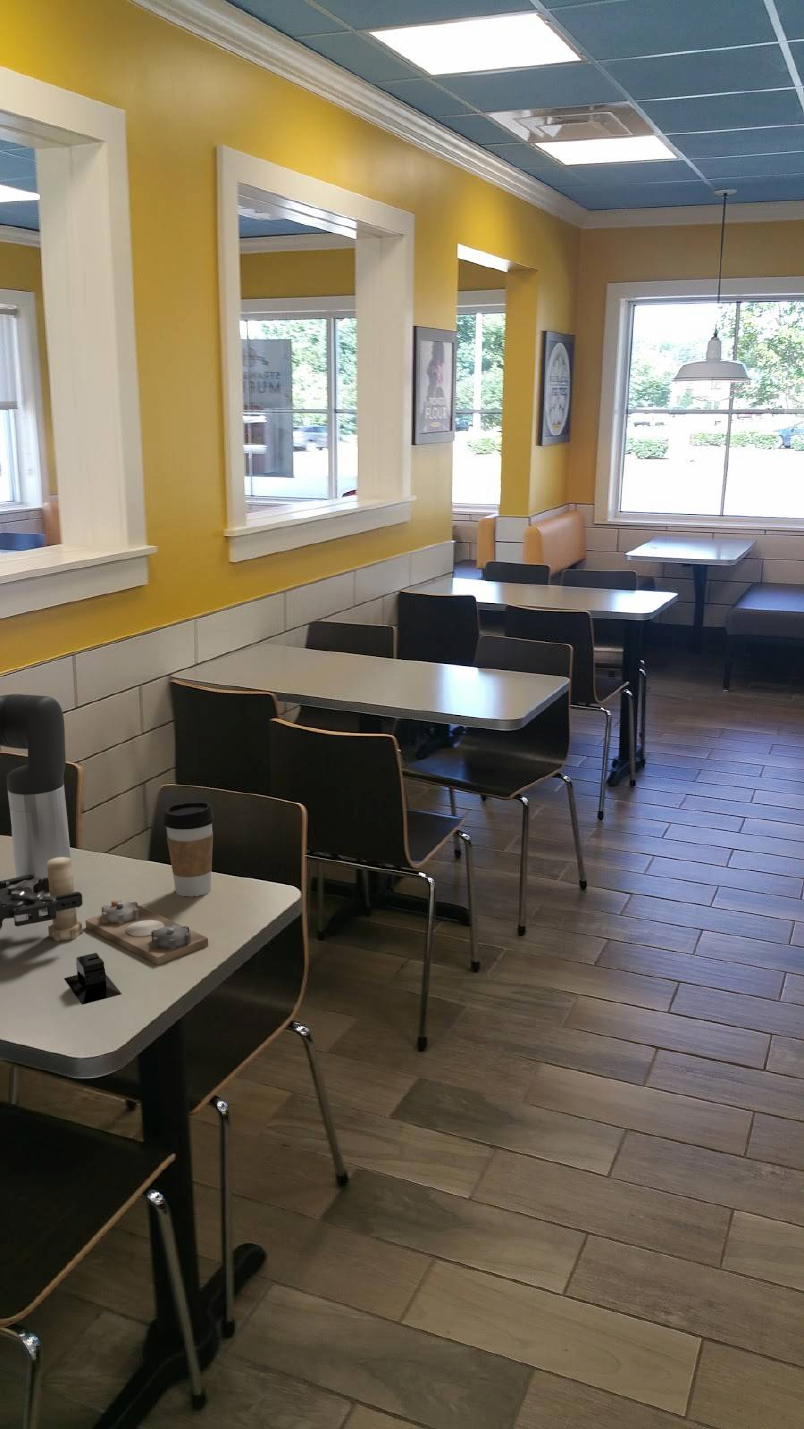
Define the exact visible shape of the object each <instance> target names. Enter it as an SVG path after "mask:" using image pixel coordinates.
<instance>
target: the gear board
mask: <svg viewBox="0 0 804 1429" xmlns="http://www.w3.org/2000/svg"><path fill="white" fill-rule="evenodd" d="M85 927H86V928H87V929H88V930H90V931H92V932H94V933H95V934H96V933H97V934H98V935H100V936H102V937H103V938H105V939H107V940H109V941H111V942H113V943H115V944H118V945H119V946H121V947H123V948H125V949H127V950H129V951H130V952H132V953H134V954H135V955H138V956H140V957H142V958H143V959H146V960H147V961H149V962H152V963H153V964H155V965H157V966H159V965H161V964H164V963H167V962H169V961H172V960H174V959H177V958H179V957H182V956H185V955H187V954H190V953H193V952H195V951H197V950H200V949H203V948H205V947H208V946H209V938H208V937H207V936H204V935H202V934H200V933H198V932H197V931H194V930H192V929H190V927H189V926H187V925H184V926H183V925H181V924H179V923H177V922H175V921H173V920H171V919H168V918H166V917H164V916H162V915H160V914H158V913H155V912H153V911H152V910H150V909H148V908H145V907H143V906H141V905H139V904H138V902H137V901H133V902H129V901H123V900H113V901H111V902H110V904H107V905H103V906H101V914H100V915H96V916H94V917H91V918H87V919H86V920H85Z"/></svg>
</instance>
